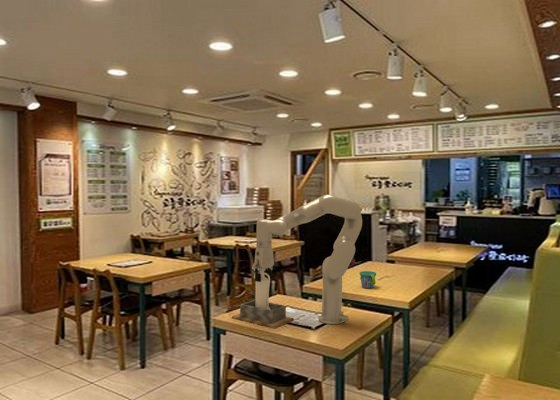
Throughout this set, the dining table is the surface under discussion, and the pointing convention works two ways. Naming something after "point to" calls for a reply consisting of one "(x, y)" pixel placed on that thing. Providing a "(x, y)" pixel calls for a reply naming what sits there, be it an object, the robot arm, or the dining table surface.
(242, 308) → the caddy
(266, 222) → the robot arm
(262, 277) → the fire extinguisher
